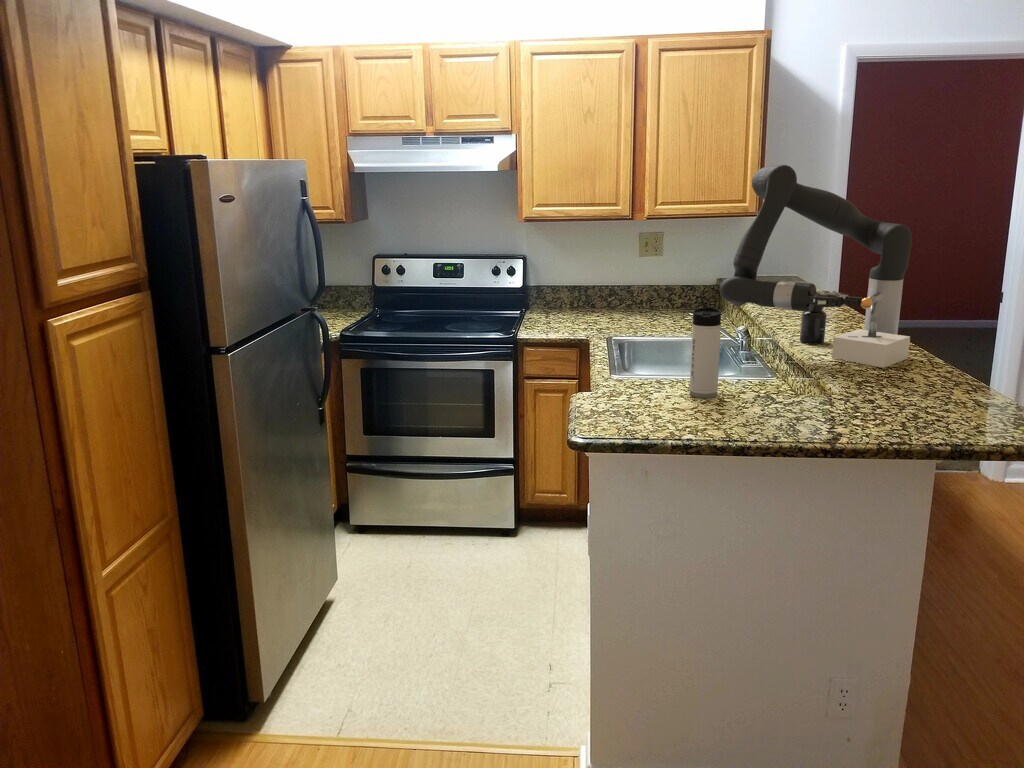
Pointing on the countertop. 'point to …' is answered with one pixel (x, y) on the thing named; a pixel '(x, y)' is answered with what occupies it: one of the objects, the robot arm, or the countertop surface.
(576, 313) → the countertop surface
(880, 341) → the block
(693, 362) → the travel mug
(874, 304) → the T-key
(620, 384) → the countertop surface
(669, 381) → the countertop surface
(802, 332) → the supplement bottle
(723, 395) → the countertop surface
